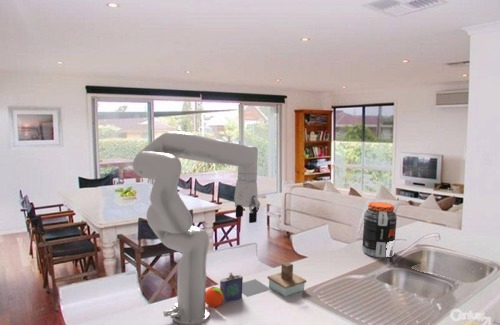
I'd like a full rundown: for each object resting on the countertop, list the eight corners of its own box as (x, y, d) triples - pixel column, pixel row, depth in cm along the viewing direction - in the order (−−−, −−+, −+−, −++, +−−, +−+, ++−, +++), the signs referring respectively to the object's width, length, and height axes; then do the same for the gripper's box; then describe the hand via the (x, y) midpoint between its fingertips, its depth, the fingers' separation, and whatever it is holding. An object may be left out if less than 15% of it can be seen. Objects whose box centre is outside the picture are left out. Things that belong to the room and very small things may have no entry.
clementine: (229, 305, 137) (229, 287, 136) (217, 313, 131) (218, 294, 130) (212, 299, 141) (212, 281, 141) (200, 307, 136) (200, 288, 135)
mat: (247, 298, 143) (247, 296, 143) (232, 287, 152) (232, 285, 152) (271, 290, 150) (271, 289, 150) (255, 280, 159) (255, 279, 159)
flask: (221, 305, 137) (222, 277, 136) (217, 301, 140) (218, 274, 138) (243, 299, 142) (244, 272, 141) (239, 296, 145) (240, 269, 143)
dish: (284, 298, 144) (285, 288, 144) (268, 287, 152) (269, 278, 152) (304, 291, 150) (304, 282, 149) (287, 282, 158) (288, 273, 158)
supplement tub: (390, 261, 185) (394, 209, 182) (358, 254, 193) (361, 205, 190) (396, 251, 198) (400, 203, 195) (366, 245, 206) (369, 199, 203)
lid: (284, 288, 143) (285, 271, 142) (267, 278, 152) (268, 262, 151) (306, 282, 149) (307, 265, 148) (288, 272, 158) (288, 256, 157)
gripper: (227, 174, 153) (226, 215, 155) (251, 181, 139) (250, 226, 141) (243, 173, 157) (241, 213, 159) (268, 179, 143) (266, 223, 145)
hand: (245, 219), depth 150 cm, fingers open, 9 cm apart
